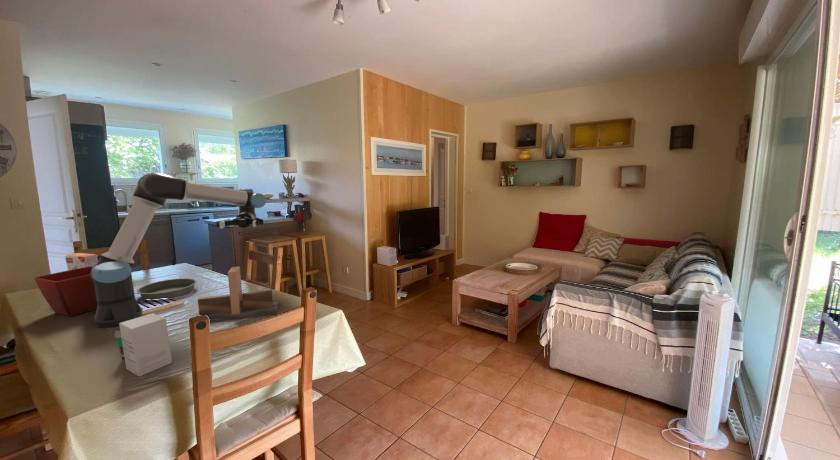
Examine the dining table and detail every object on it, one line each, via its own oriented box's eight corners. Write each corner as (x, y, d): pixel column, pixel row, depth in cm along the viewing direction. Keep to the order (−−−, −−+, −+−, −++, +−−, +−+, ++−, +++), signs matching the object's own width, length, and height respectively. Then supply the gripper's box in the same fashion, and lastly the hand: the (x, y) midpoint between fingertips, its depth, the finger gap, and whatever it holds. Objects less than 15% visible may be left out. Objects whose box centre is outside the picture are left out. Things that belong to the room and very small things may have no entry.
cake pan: (138, 292, 177) (137, 284, 176) (195, 283, 192) (194, 275, 191) (136, 306, 158) (135, 297, 157) (200, 294, 172) (199, 286, 172)
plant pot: (40, 314, 149) (32, 276, 146) (95, 299, 166) (89, 265, 163) (63, 321, 141) (55, 281, 138) (118, 305, 158) (112, 269, 156)
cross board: (199, 311, 150) (197, 293, 148) (279, 302, 159) (277, 285, 158) (189, 324, 136) (187, 304, 135) (276, 313, 146) (275, 295, 145)
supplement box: (159, 355, 112) (153, 312, 110) (173, 363, 108) (167, 317, 106) (125, 369, 105) (118, 322, 103) (138, 377, 100) (131, 328, 98)
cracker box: (71, 295, 172) (64, 254, 169) (85, 291, 178) (79, 252, 175) (90, 298, 168) (83, 256, 165) (104, 294, 174) (98, 253, 171)
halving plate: (235, 306, 151) (231, 267, 149) (243, 306, 152) (239, 266, 150) (231, 314, 143) (227, 272, 140) (239, 313, 144) (235, 271, 141)
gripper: (271, 225, 182) (267, 231, 162) (218, 228, 175) (207, 234, 155) (270, 211, 181) (266, 215, 161) (216, 213, 173) (205, 218, 154)
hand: (237, 224), depth 158 cm, fingers open, 13 cm apart
